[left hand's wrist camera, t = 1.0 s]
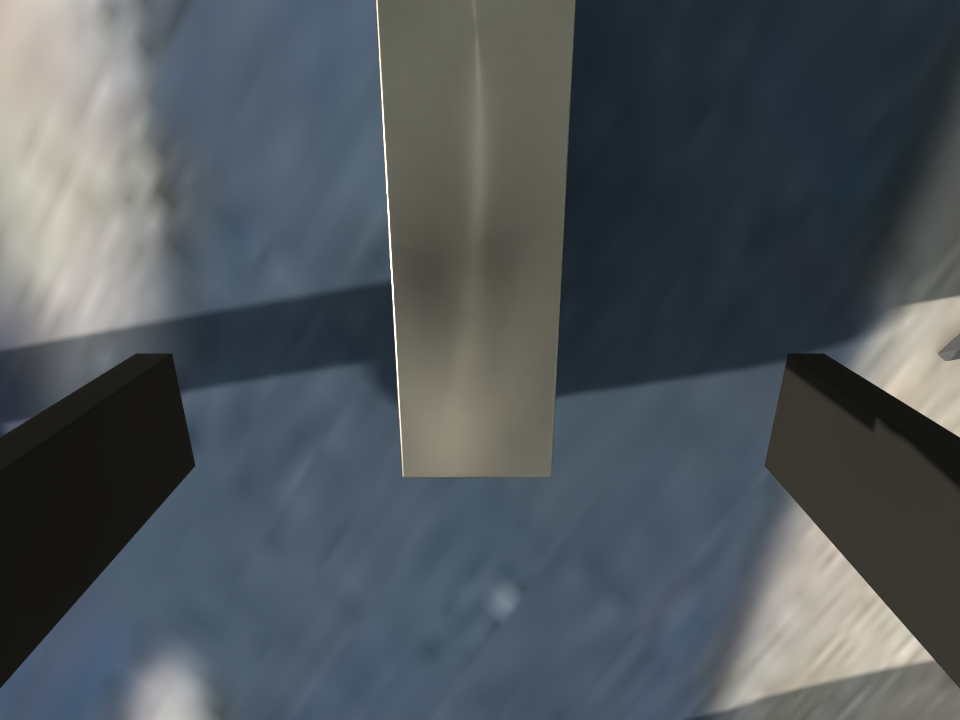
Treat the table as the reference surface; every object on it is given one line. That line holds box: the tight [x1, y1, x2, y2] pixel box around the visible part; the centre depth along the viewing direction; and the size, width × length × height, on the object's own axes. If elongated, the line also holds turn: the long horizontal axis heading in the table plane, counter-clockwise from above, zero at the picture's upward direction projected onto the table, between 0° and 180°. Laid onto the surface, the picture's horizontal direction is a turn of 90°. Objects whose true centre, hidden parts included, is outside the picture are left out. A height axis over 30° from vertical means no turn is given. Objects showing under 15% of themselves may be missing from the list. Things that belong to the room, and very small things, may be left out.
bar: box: [375, 0, 576, 478], centre depth 18 cm, size 25×5×9 cm, turn 0°
